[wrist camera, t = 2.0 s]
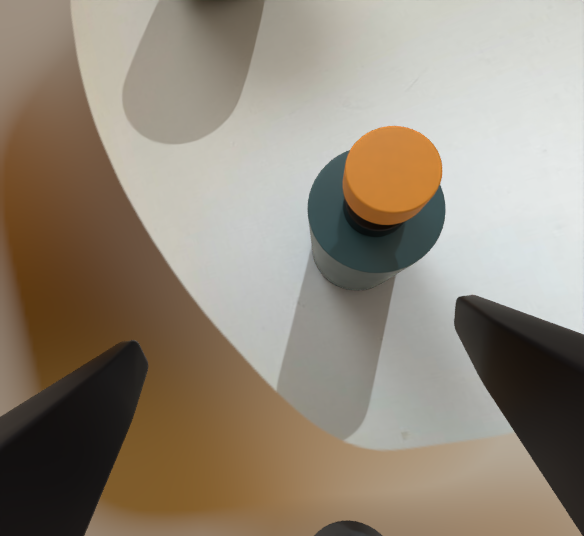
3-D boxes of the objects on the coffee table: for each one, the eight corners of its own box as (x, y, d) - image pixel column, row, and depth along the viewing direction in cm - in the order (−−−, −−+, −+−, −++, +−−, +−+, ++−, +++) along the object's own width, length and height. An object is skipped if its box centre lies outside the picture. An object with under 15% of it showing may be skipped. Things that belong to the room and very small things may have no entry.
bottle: (398, 294, 24) (453, 276, 14) (308, 285, 24) (299, 262, 15) (402, 209, 25) (456, 135, 15) (316, 203, 26) (313, 129, 16)
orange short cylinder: (427, 228, 13) (441, 217, 11) (338, 222, 13) (341, 210, 12) (430, 148, 13) (444, 126, 12) (346, 144, 14) (348, 123, 12)
